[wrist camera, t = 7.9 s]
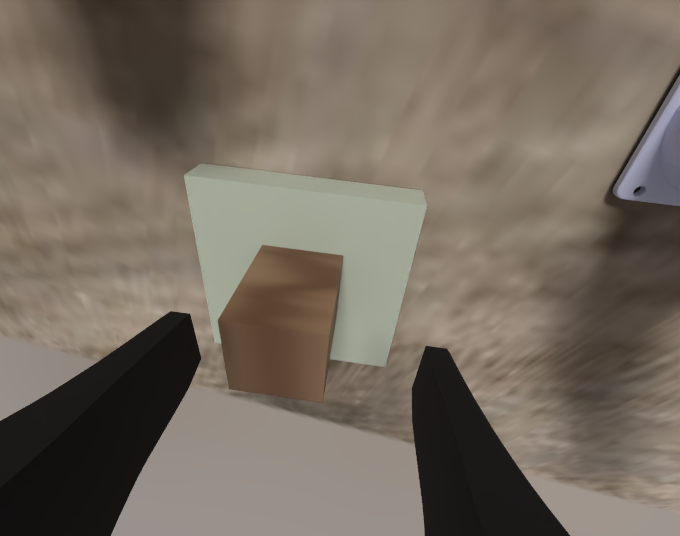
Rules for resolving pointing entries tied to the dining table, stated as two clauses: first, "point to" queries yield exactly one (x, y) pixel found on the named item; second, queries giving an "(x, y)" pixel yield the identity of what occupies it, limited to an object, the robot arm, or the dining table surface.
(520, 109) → the dining table surface
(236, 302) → the walnut block
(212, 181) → the pale green block
